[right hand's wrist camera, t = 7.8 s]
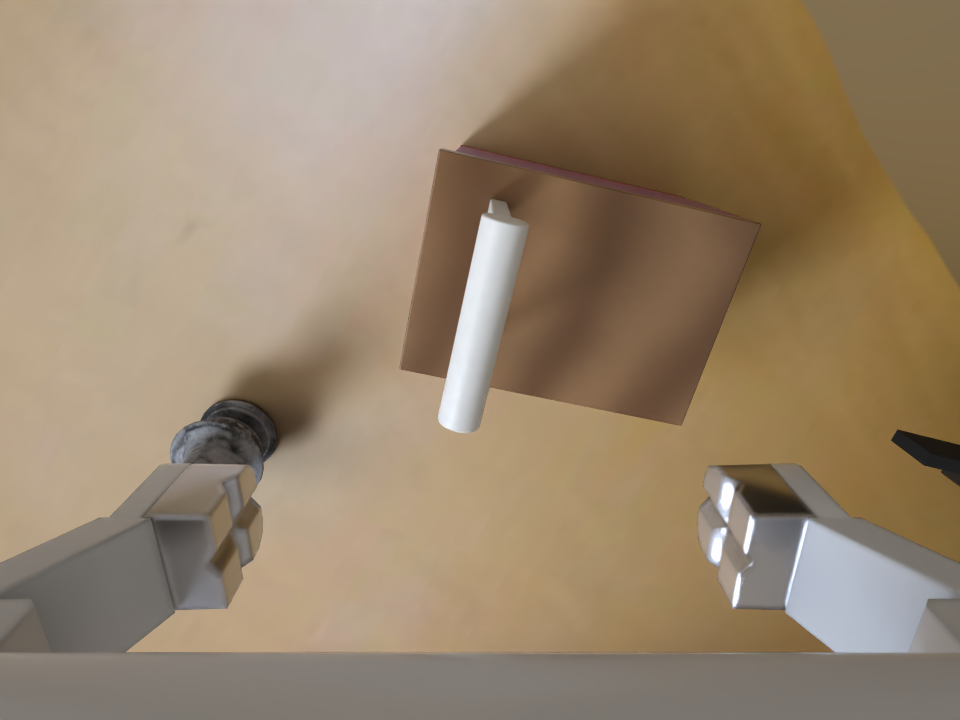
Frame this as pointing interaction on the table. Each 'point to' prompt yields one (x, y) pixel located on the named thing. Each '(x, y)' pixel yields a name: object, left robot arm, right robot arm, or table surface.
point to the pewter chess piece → (227, 437)
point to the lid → (566, 292)
